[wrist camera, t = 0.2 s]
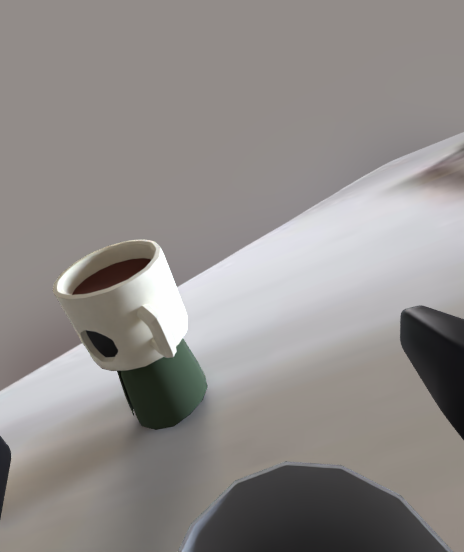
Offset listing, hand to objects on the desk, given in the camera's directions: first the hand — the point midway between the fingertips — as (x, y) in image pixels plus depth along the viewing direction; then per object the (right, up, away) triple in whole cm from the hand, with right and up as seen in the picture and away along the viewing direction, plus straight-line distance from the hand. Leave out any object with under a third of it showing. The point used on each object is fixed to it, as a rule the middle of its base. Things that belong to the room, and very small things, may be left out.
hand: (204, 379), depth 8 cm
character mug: (-4, -8, +22) cm, 24 cm away
